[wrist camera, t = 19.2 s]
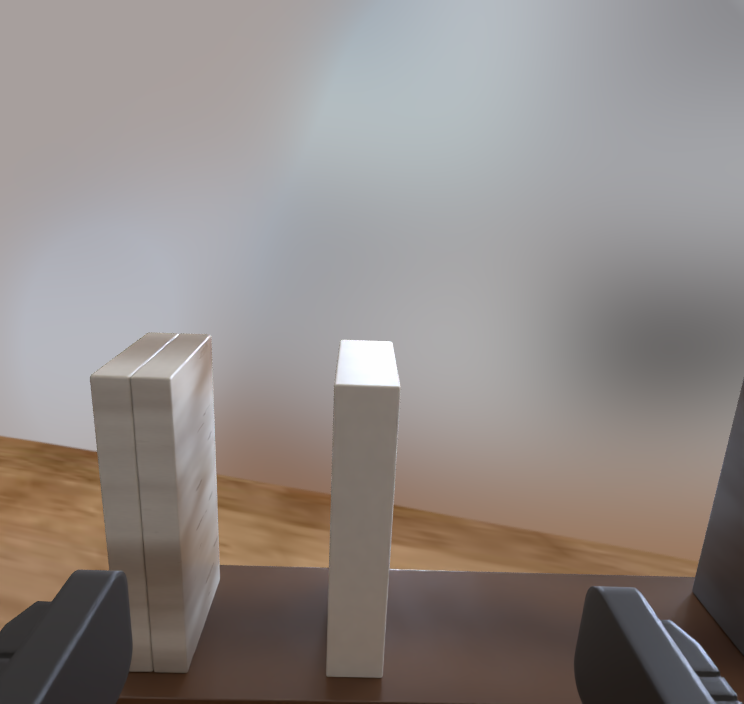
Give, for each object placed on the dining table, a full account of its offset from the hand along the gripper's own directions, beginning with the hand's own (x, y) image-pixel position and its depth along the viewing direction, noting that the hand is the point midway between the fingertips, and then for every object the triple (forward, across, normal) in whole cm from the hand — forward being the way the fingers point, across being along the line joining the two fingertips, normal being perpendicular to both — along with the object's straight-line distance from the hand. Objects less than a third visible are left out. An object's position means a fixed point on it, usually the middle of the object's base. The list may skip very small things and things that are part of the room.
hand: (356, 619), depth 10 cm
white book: (+10, 0, +10) cm, 14 cm away
